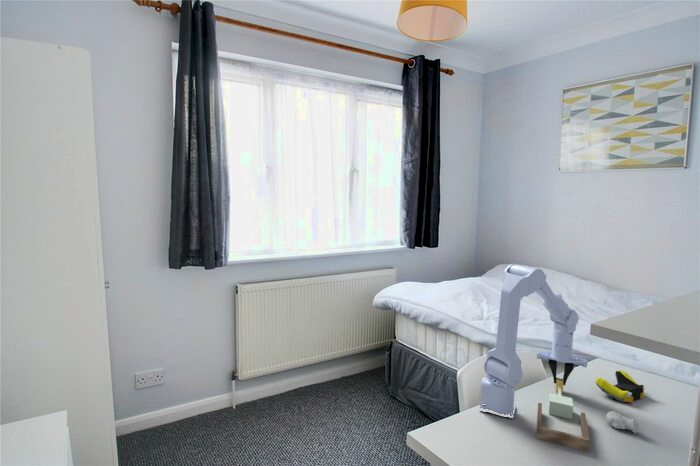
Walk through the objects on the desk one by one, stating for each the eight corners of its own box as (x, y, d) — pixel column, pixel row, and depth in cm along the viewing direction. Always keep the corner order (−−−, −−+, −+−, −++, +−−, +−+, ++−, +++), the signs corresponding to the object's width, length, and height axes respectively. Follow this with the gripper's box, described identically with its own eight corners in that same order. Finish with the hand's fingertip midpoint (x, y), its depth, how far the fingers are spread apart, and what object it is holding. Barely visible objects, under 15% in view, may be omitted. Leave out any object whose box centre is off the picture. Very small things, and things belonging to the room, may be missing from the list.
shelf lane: (536, 438, 105) (536, 427, 105) (537, 412, 118) (538, 402, 117) (588, 451, 100) (589, 440, 100) (584, 423, 112) (585, 413, 112)
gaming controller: (591, 392, 130) (624, 407, 121) (592, 376, 129) (625, 390, 120) (617, 383, 137) (650, 396, 128) (619, 367, 136) (652, 380, 127)
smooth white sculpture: (602, 427, 113) (611, 417, 115) (633, 442, 106) (643, 431, 108) (600, 414, 112) (610, 405, 114) (632, 429, 105) (641, 418, 107)
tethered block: (548, 413, 117) (549, 401, 116) (548, 387, 132) (549, 376, 132) (572, 419, 114) (573, 406, 114) (569, 392, 130) (570, 380, 129)
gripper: (587, 343, 130) (583, 382, 131) (538, 335, 136) (535, 373, 138) (589, 351, 123) (585, 392, 125) (537, 342, 130) (535, 382, 131)
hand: (559, 383), depth 131 cm, fingers closed on tethered block, 2 cm apart
